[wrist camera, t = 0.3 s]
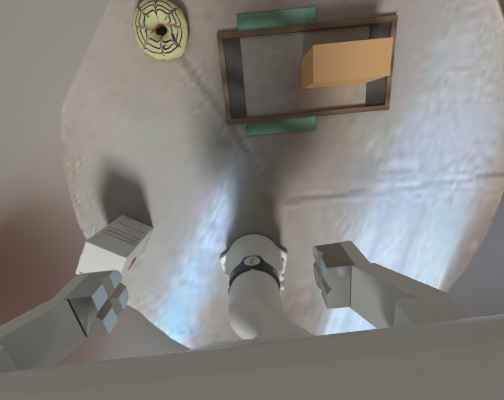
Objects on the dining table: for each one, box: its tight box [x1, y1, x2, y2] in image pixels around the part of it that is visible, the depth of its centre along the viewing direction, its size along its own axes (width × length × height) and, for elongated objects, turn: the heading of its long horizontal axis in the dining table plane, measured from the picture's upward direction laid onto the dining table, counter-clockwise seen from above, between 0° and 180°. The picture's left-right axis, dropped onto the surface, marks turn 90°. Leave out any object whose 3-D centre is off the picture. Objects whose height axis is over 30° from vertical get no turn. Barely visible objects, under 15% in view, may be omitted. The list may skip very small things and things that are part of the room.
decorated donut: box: [133, 0, 189, 60], centre depth 48 cm, size 10×11×4 cm
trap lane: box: [217, 7, 398, 136], centre depth 51 cm, size 24×37×1 cm, turn 95°
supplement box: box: [76, 215, 153, 277], centre depth 57 cm, size 9×9×15 cm
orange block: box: [302, 37, 393, 89], centre depth 47 cm, size 6×14×10 cm, turn 95°
